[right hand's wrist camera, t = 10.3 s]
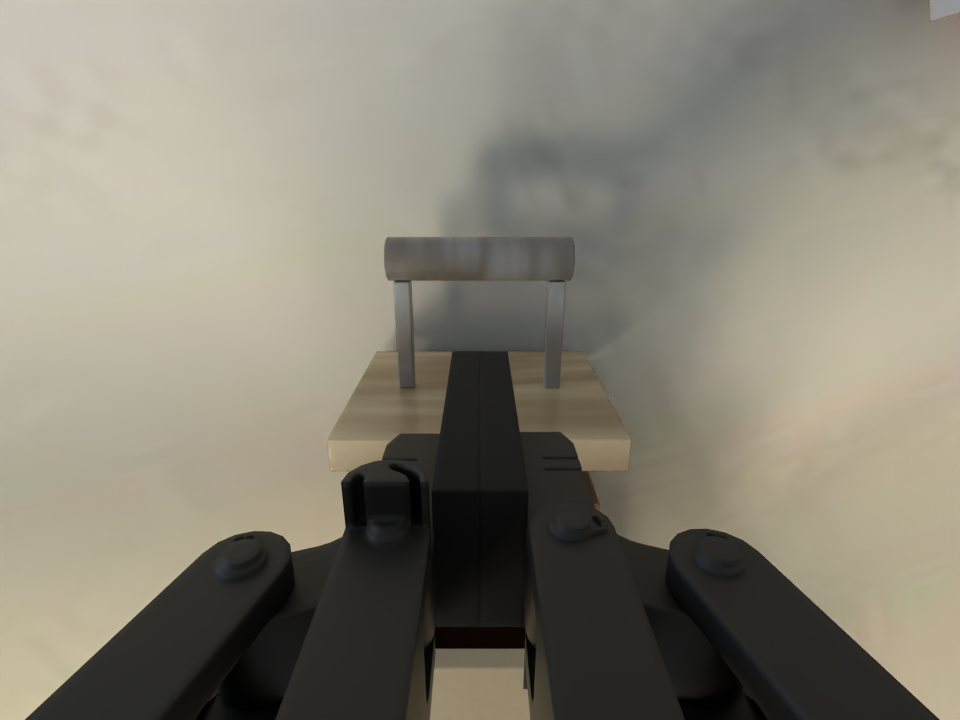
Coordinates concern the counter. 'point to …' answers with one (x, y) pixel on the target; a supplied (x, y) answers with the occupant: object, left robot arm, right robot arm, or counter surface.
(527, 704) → the cabinet
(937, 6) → the toy
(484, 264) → the drawer
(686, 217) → the counter surface
